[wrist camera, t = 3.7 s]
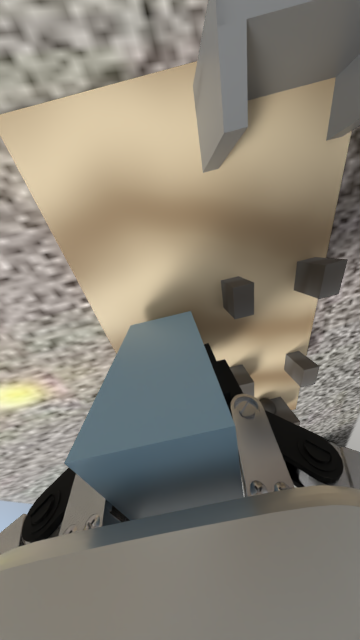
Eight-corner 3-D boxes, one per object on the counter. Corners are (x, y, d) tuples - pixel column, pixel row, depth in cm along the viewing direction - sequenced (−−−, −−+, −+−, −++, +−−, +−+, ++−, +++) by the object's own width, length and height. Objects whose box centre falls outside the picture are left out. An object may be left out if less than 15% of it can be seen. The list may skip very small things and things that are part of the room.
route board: (289, 406, 19) (314, 438, 16) (164, 436, 19) (164, 472, 16) (352, 37, 7) (509, -135, 4) (8, 130, 7) (-114, 39, 4)
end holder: (341, 136, 8) (440, 76, 5) (203, 172, 8) (224, 133, 5) (359, 41, 6) (506, -113, 4) (192, 85, 6) (213, -30, 4)
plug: (221, 453, 18) (251, 569, 11) (187, 461, 18) (198, 579, 11) (190, 310, 10) (235, 425, 3) (130, 325, 10) (63, 463, 3)
